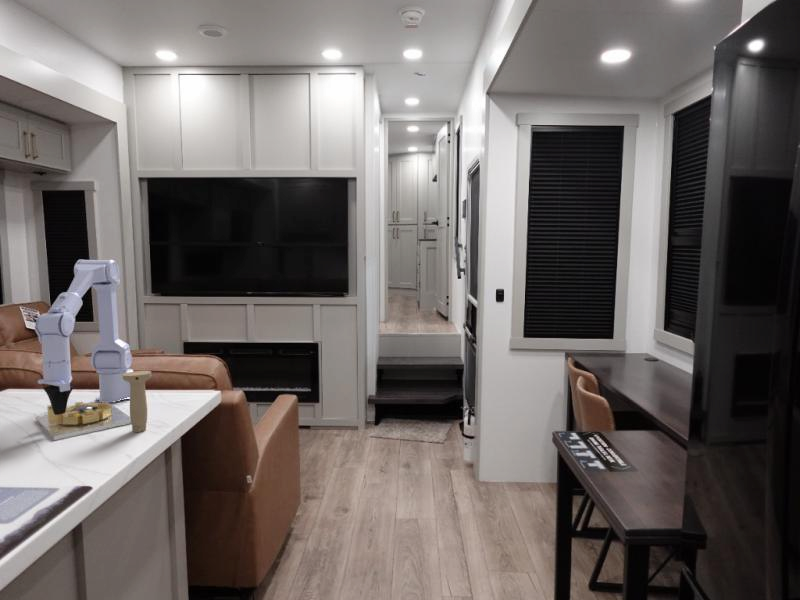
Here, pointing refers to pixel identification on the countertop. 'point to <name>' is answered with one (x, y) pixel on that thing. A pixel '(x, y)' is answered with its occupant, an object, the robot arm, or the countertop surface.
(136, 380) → the handle
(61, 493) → the countertop surface
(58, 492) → the countertop surface
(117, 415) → the plate
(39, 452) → the countertop surface
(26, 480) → the countertop surface
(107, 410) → the gold blocky ring
